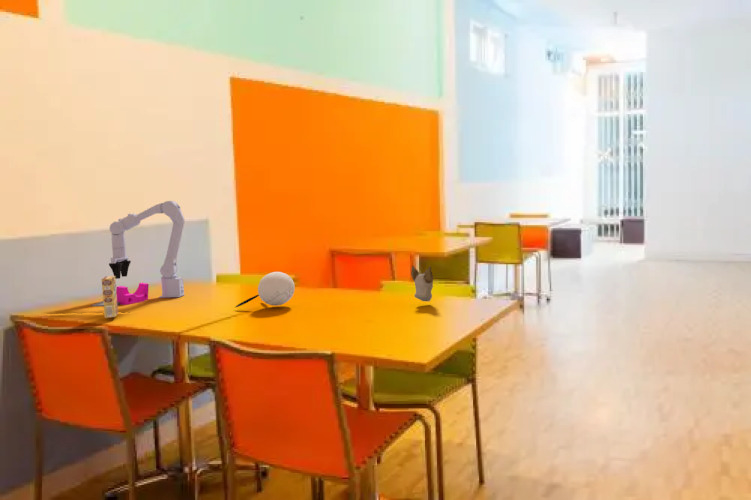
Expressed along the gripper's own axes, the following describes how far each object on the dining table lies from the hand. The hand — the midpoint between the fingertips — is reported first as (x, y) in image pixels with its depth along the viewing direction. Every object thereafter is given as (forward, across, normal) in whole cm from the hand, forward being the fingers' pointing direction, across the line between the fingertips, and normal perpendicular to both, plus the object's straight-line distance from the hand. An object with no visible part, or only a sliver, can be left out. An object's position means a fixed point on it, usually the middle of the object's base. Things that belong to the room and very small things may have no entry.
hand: (121, 277), depth 327 cm
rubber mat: (+10, +10, 0) cm, 14 cm away
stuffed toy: (-1, +33, +84) cm, 91 cm away
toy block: (+10, +10, +9) cm, 17 cm away
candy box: (+10, +45, +14) cm, 48 cm away
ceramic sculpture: (+11, +30, +138) cm, 142 cm away
